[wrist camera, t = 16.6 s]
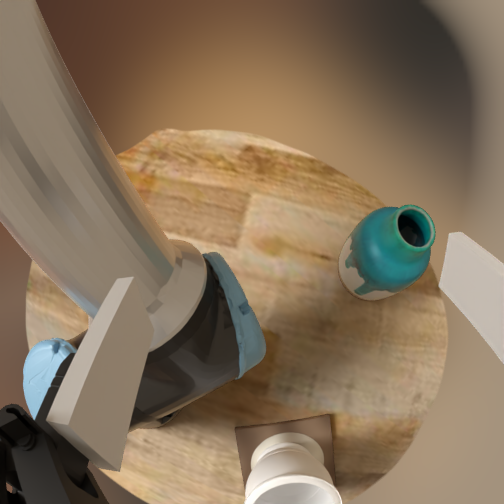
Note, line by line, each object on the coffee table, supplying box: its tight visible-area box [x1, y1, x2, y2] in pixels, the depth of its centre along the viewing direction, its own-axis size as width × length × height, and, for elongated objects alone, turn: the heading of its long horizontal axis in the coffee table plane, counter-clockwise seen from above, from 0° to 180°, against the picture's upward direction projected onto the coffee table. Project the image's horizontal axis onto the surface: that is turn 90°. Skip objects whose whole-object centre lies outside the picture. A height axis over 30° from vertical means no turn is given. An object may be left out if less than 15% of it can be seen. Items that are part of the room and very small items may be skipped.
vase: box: [338, 205, 435, 300], centre depth 36 cm, size 11×11×19 cm
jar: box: [244, 442, 342, 504], centre depth 28 cm, size 11×10×15 cm
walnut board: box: [235, 414, 336, 490], centre depth 36 cm, size 14×14×1 cm
